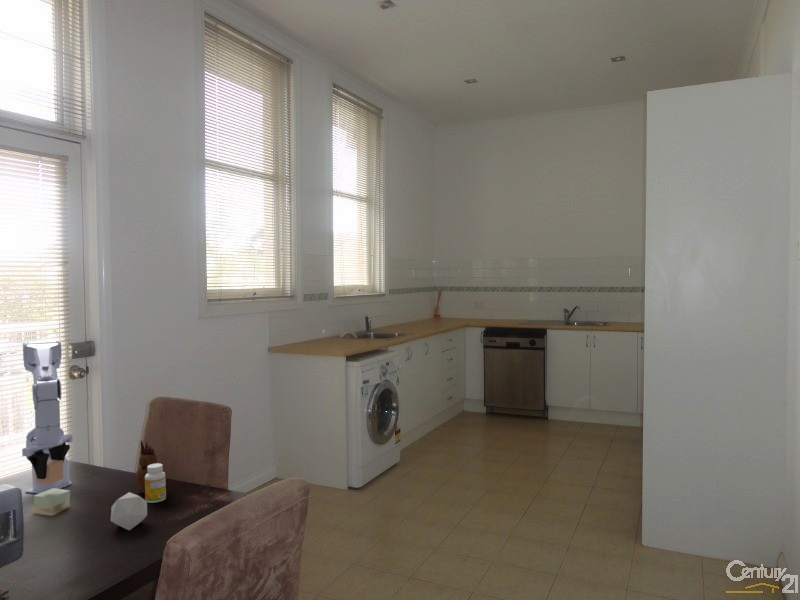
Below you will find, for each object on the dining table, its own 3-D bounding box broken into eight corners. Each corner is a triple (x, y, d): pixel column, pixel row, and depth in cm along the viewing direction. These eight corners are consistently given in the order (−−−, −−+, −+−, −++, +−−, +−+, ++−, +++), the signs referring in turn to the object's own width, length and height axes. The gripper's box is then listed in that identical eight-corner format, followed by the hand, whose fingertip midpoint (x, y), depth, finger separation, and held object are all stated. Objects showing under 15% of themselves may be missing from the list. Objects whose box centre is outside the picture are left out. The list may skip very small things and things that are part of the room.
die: (155, 527, 149) (154, 490, 154) (132, 522, 142) (131, 483, 147) (126, 537, 150) (126, 500, 155) (102, 533, 143) (103, 494, 148)
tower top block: (54, 497, 163) (53, 488, 163) (70, 499, 161) (69, 490, 161) (33, 504, 157) (33, 495, 157) (50, 507, 155) (50, 498, 155)
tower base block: (51, 506, 163) (51, 497, 163) (69, 508, 161) (69, 499, 161) (33, 514, 157) (32, 505, 157) (51, 516, 156) (51, 507, 156)
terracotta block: (49, 477, 162) (48, 459, 162) (63, 478, 161) (62, 460, 160) (35, 482, 157) (35, 464, 157) (49, 484, 156) (49, 465, 156)
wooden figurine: (132, 493, 171) (130, 442, 171) (147, 487, 177) (146, 437, 176) (150, 496, 169) (149, 444, 168) (165, 489, 174) (164, 439, 174)
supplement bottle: (146, 497, 168) (145, 463, 168) (166, 495, 170) (165, 461, 169) (144, 504, 163) (143, 469, 163) (165, 501, 165) (164, 467, 164)
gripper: (37, 432, 150) (39, 485, 151) (81, 419, 165) (82, 468, 165) (14, 431, 152) (16, 483, 153) (60, 418, 166) (61, 466, 167)
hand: (49, 475), depth 159 cm, fingers closed on terracotta block, 4 cm apart
